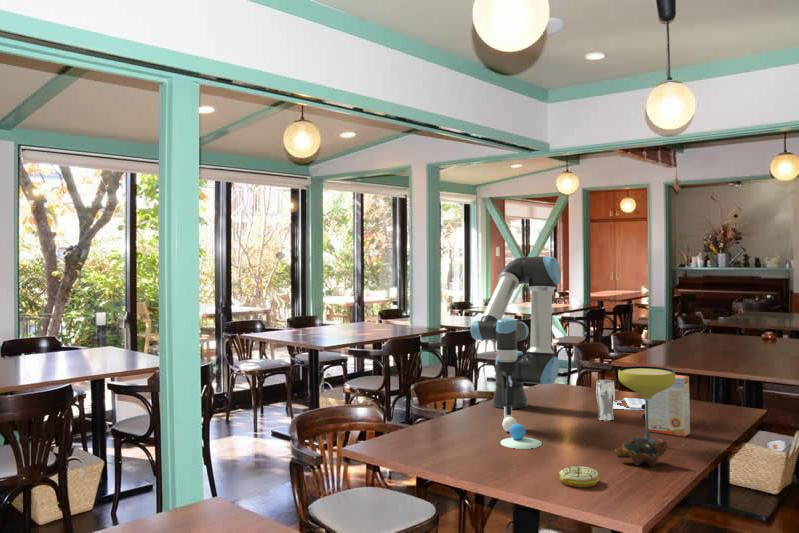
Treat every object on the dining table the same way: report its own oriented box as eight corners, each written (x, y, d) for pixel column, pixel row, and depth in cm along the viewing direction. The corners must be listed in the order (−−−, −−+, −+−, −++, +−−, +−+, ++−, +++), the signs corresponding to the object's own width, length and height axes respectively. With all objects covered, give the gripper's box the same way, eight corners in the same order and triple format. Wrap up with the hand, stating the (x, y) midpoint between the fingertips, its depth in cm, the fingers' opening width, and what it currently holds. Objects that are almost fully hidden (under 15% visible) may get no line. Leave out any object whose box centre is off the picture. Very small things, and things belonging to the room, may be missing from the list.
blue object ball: (505, 425, 231) (508, 433, 226) (519, 418, 231) (522, 426, 226) (512, 437, 233) (516, 445, 228) (526, 429, 232) (529, 438, 227)
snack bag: (657, 412, 268) (656, 407, 268) (605, 411, 272) (605, 406, 272) (648, 402, 286) (648, 397, 286) (601, 401, 290) (600, 396, 290)
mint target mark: (492, 442, 226) (492, 441, 226) (522, 435, 234) (522, 435, 234) (519, 451, 215) (519, 451, 215) (550, 444, 222) (550, 444, 222)
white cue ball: (498, 417, 239) (500, 433, 238) (512, 416, 237) (514, 432, 235) (505, 416, 244) (506, 431, 243) (518, 415, 241) (520, 431, 240)
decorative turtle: (672, 469, 194) (670, 442, 194) (619, 470, 197) (617, 444, 196) (664, 457, 204) (662, 432, 203) (614, 459, 206) (612, 434, 206)
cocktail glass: (671, 454, 208) (670, 376, 208) (613, 447, 218) (612, 372, 217) (680, 441, 223) (679, 368, 223) (626, 434, 233) (625, 364, 233)
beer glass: (613, 417, 258) (612, 379, 258) (617, 421, 251) (616, 382, 251) (595, 417, 259) (594, 379, 259) (598, 421, 252) (597, 382, 252)
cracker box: (690, 434, 232) (689, 375, 232) (684, 437, 227) (683, 378, 227) (651, 428, 241) (650, 371, 241) (645, 431, 237) (644, 373, 237)
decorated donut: (561, 475, 191) (560, 462, 191) (599, 478, 188) (599, 465, 188) (558, 487, 181) (557, 473, 181) (598, 491, 178) (598, 477, 178)
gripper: (493, 358, 251) (495, 419, 252) (500, 363, 238) (501, 427, 239) (513, 357, 252) (514, 418, 252) (520, 362, 239) (522, 426, 239)
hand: (508, 422), depth 245 cm, fingers closed
